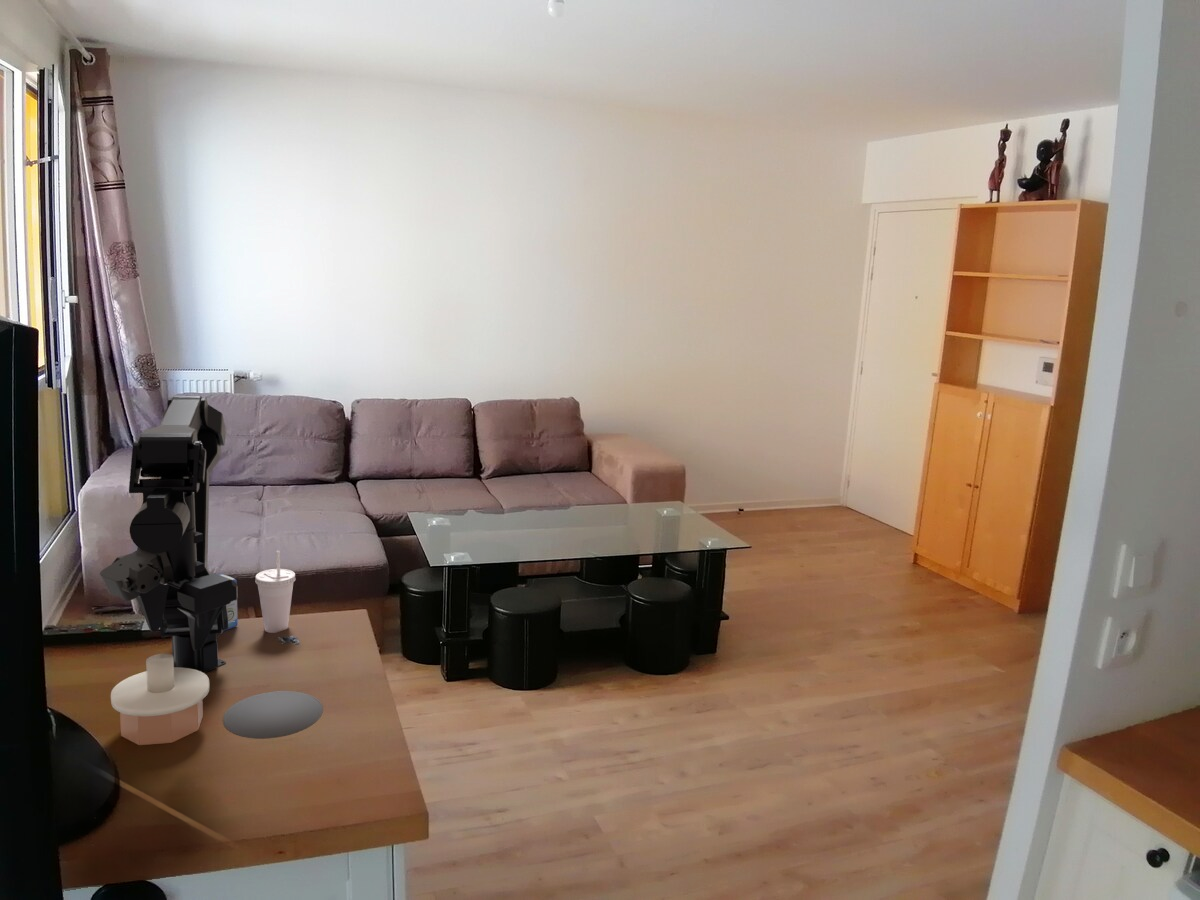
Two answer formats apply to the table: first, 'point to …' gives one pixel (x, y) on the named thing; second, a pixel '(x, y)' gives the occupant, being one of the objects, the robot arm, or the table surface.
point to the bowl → (161, 726)
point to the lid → (160, 689)
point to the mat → (272, 714)
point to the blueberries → (289, 640)
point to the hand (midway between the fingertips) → (175, 639)
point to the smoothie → (275, 596)
